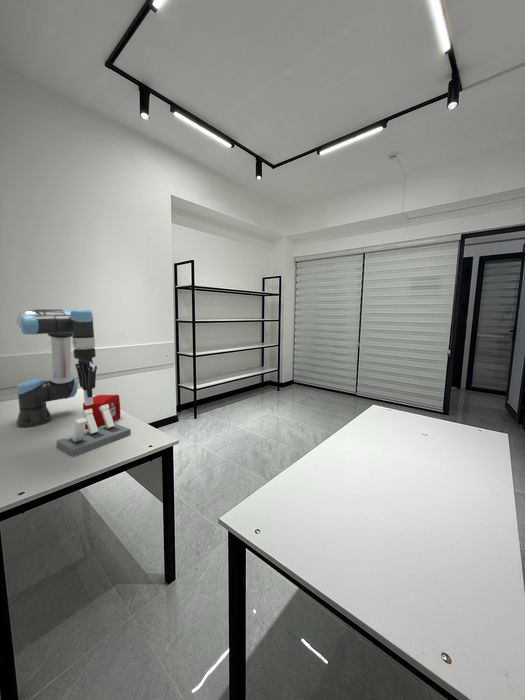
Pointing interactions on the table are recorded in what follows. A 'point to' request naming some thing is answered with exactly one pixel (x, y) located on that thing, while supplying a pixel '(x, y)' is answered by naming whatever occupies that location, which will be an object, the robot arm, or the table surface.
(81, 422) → the handle
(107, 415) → the handle
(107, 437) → the breaker panel
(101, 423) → the fire alarm
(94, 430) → the handle
